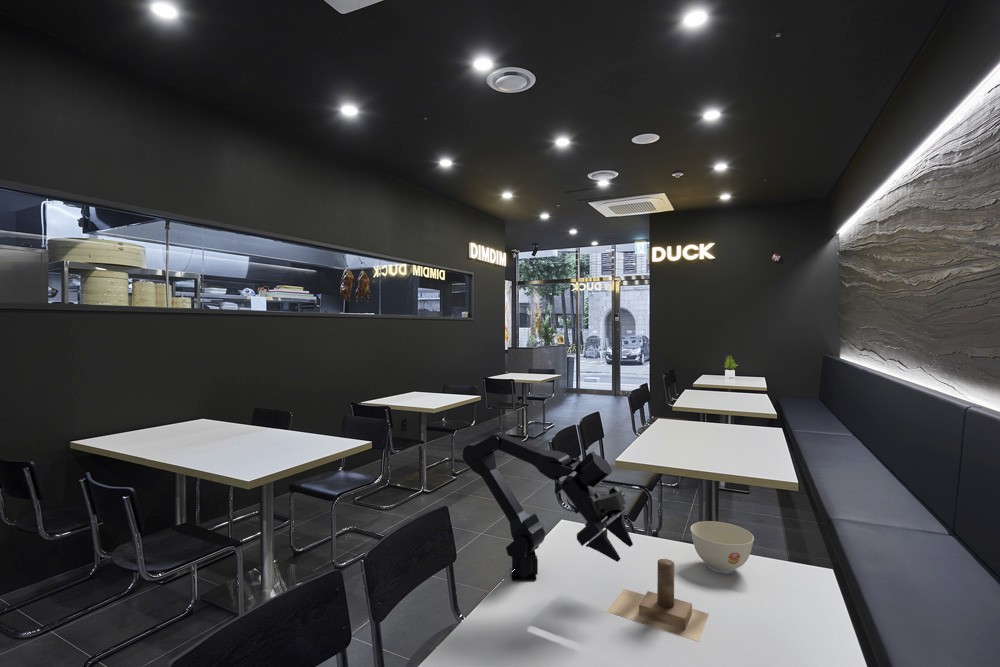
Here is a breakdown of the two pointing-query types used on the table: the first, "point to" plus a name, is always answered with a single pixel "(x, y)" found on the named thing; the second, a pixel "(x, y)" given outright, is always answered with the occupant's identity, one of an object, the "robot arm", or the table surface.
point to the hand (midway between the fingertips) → (625, 552)
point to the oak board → (629, 609)
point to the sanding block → (665, 600)
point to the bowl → (722, 545)
